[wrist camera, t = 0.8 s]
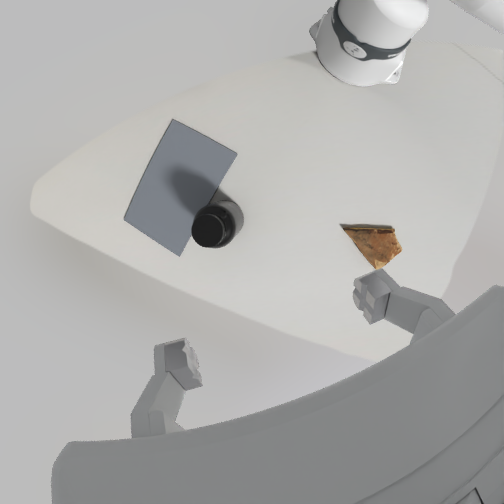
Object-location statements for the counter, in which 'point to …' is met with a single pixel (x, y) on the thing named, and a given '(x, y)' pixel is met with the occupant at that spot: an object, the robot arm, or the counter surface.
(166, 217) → the mat
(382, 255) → the shard
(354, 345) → the counter surface
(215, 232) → the supplement bottle
